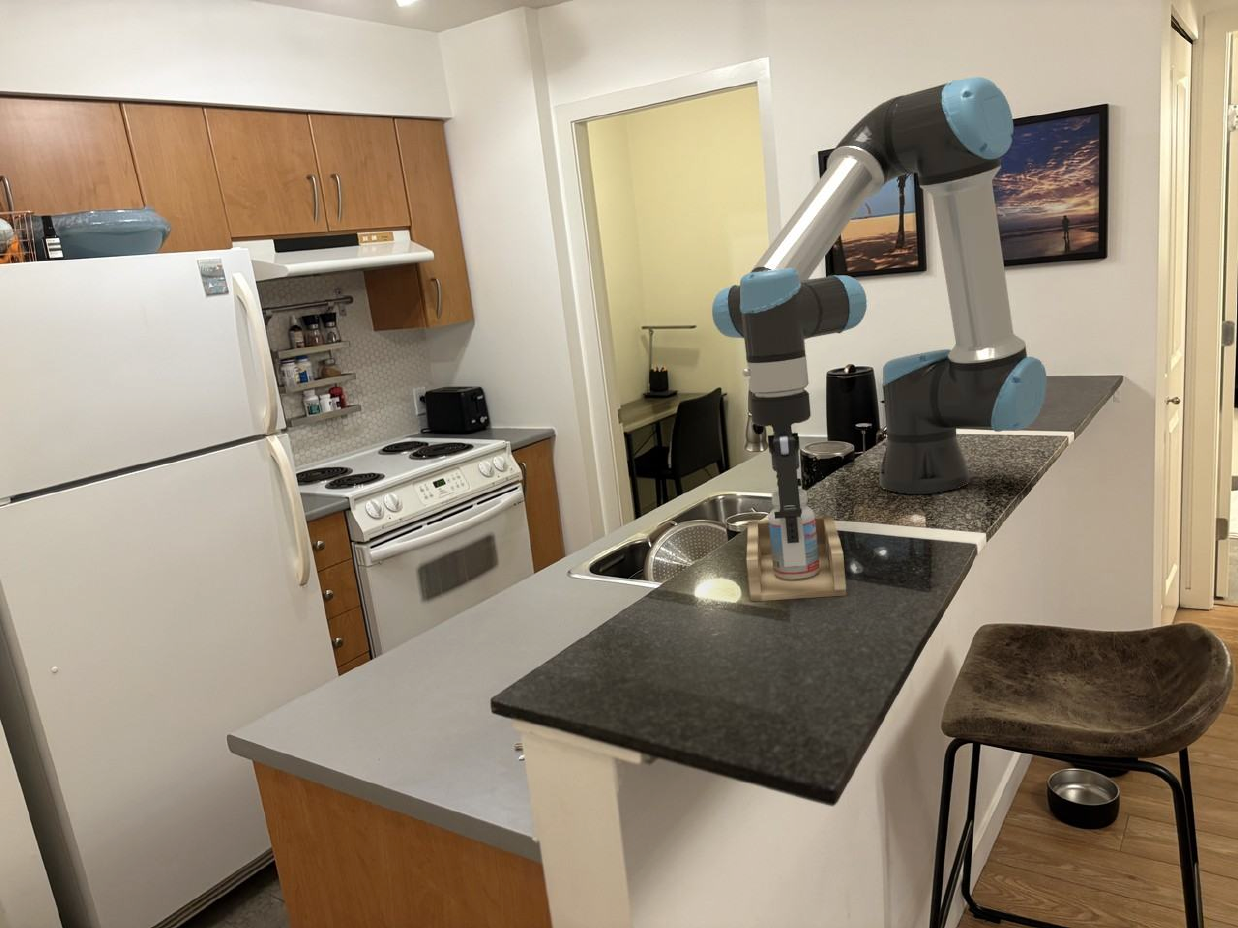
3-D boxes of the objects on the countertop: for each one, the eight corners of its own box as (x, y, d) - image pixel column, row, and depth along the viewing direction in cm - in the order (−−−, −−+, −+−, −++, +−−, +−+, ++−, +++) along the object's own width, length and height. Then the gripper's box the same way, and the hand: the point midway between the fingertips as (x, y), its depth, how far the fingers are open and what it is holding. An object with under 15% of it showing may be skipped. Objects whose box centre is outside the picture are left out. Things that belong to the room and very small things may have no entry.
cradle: (751, 558, 135) (748, 521, 134) (835, 552, 133) (832, 514, 132) (750, 601, 118) (746, 559, 117) (846, 595, 116) (843, 552, 115)
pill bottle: (820, 579, 120) (812, 496, 118) (773, 582, 122) (765, 500, 119) (819, 564, 126) (812, 485, 124) (774, 567, 127) (766, 488, 125)
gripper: (750, 382, 131) (764, 524, 136) (748, 410, 107) (765, 582, 112) (804, 376, 130) (816, 520, 134) (813, 403, 106) (828, 578, 110)
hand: (793, 549), depth 123 cm, fingers open, 13 cm apart
